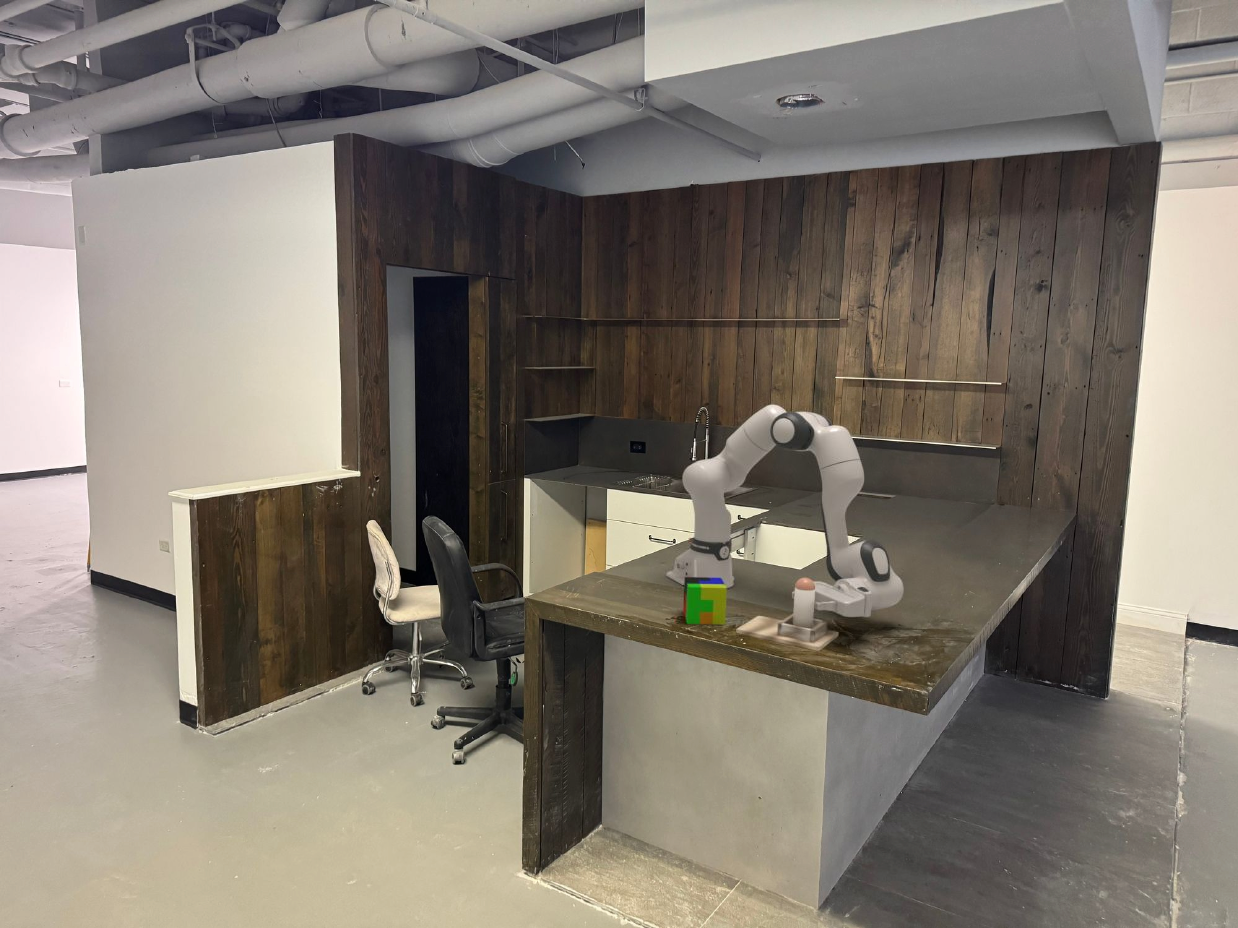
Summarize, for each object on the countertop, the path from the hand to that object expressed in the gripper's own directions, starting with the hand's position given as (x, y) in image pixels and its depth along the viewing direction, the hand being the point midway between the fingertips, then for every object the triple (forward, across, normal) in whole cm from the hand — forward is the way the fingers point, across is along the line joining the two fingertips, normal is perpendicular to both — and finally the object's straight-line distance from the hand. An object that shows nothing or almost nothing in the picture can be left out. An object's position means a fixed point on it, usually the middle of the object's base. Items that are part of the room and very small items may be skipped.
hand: (804, 600), depth 215 cm
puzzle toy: (+16, -22, +10) cm, 29 cm away
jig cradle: (+2, -4, +10) cm, 10 cm away
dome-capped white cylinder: (0, 0, +9) cm, 9 cm away
